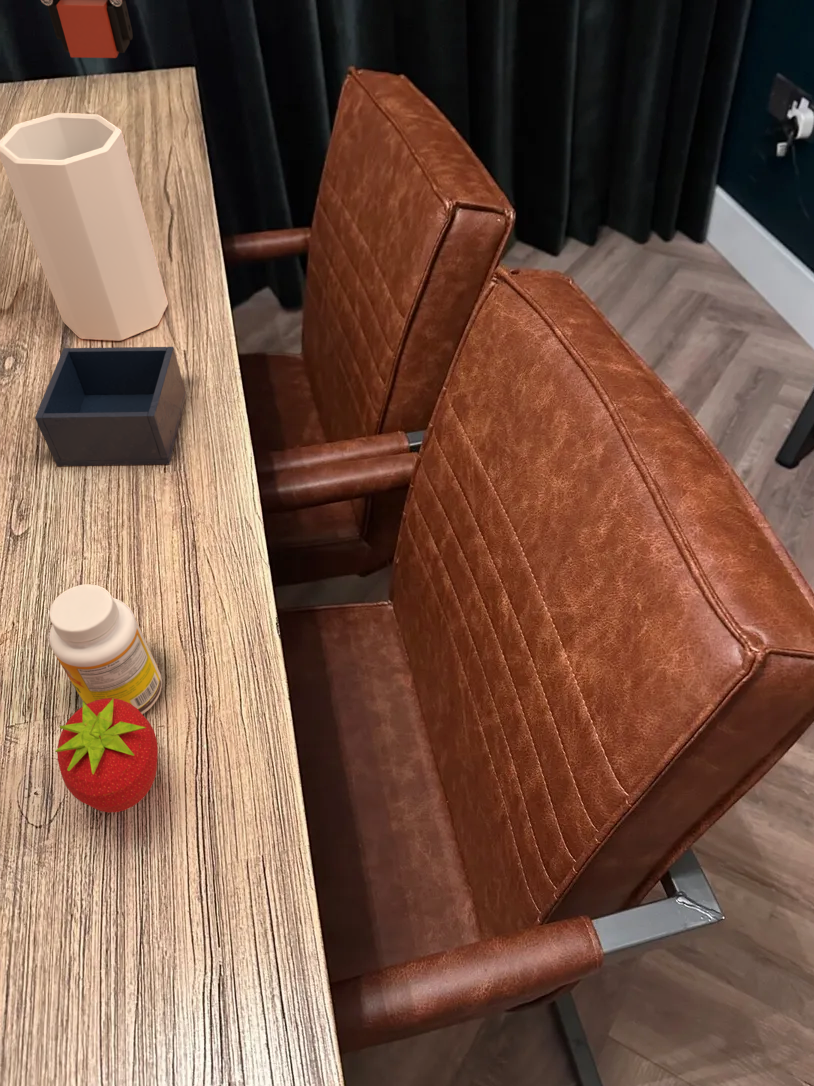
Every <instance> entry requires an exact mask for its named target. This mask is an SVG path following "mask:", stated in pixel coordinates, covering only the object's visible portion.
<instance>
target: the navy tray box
mask: <svg viewBox="0 0 814 1086" xmlns="http://www.w3.org/2000/svg"><path fill="white" fill-rule="evenodd" d="M60 353H61V354H60V356H59V358H58V361H57V363H56V366H55V368H54V370H53V373H52V375H51V377H50V380H49V382H48V385H47V387H46V389H45V392H44V395H43V396H42V399H41V402H40V404H39V407H38V409H37V411H36V414H35V416H34V419H35V421H36V423H37V425H38V428H39V430H40V432H41V435H42V437H43V439H44V441H45V443H46V446H47V448H48V450H49V452H50V454H51V457H52V459H53V461H54V463H55V465H56V467H89V466H90V467H93V466H95V467H97V466H98V467H99V466H149V465H150V466H151V465H152V466H153V465H156V464H157V465H170V464H171V461H172V456H173V453H174V452H173V451H174V447H175V444H176V439H177V435H178V431H179V428H180V424H181V420H182V416H183V411H184V407H185V404H186V399H187V391H186V387H185V384H184V380H183V376H182V373H181V369H180V365H179V362H178V359H177V355H176V351H175V348H174V346H131V347H130V346H124V347H123V346H122V347H121V346H118V347H117V346H116V347H115V346H114V347H63V349H62V351H61V352H60ZM157 465H156V466H157Z"/></svg>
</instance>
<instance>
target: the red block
mask: <svg viewBox="0 0 814 1086" xmlns="http://www.w3.org/2000/svg"><path fill="white" fill-rule="evenodd" d="M108 5H109V1H108V0H60V1H59V2H58V4H57V5H56V6H57V10H58V13H59V17H60V20H61V24H62V28H63V31H64V35H65V38H66V42H67V46H68V49H69V52H68V53H69V56H70V58H82V59H83V58H84V59H85V58H88V59H89V58H91V59H92V58H93V59H116V58H118V56H119V54H120V52H118V51H117V50H116V46H115V41H114V37H113V33H112V29H111V25H110V21H109V16H108V12H107V7H108Z"/></svg>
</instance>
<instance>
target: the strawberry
mask: <svg viewBox="0 0 814 1086" xmlns="http://www.w3.org/2000/svg"><path fill="white" fill-rule="evenodd" d="M59 729H62V730H61V733H60V736H59V738H58V741H57V742H58V743H57V748H56V749H55V750H54V752H55V753H57V754H56V755H57V763H58V768H59V771H60V775H61V778H62V781H63V783H64V785H65V787H66V788H67V790H68V791H69V793H71V795H72V796H73V797H74V798H75V799H76V800H78V801H79V802H80V803H83V804H85V805H87V806H89V807H91V808H93V809H95V810H97V811H99V812H103V813H119V812H123V811H127V810H129V809H131V808H133V807H134V806H136V805H138V804H139V803H140V802H141V801H142V800H143V799H144V798H145V797H146V796H147V794H148V793H149V791H150V790H151V788H152V787H153V785H154V782H155V779H156V775H157V771H158V752H159V751H158V750H159V747H158V741H157V736H156V732H155V730H154V728H153V726H152V724H151V723H150V721H149V719H147V718H146V716H145V715H144V713H143V714H142V713H141V712H140V711H139V710H138V709H137V708H136V707H134V706H133V705H131V704H130V703H128V702H126V701H123V700H120V699H115V698H104V699H99V700H95V701H93V702H90V703H88V704H85V703H84V702H83V701H82V706H81V707H80V708H79V709H78V710H76V711H75V712H74V713H73V714H72V715H71V716H70V718H69V719H68V720H67V721H66V723H65V725H64V724H63V725H59Z"/></svg>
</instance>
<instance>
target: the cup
mask: <svg viewBox="0 0 814 1086" xmlns="http://www.w3.org/2000/svg"><path fill="white" fill-rule="evenodd" d="M125 143H126V142H125V139H124V135H123V132H122V130H121V129H120V128H119V127H118V126H116V124H115V125H114V124H113V123H112V122H110V121H109V120H107V119H106V118H105V117H103V116H101V115H100V114H97V113H78V112H77V113H73V112H54V113H50V114H47V115H43V116H39V117H35V118H32V119H28V120H26V121H22V122H18V123H15V124H14V125H13V126H12V127H11V128H10V129H9V130H8V131H7V132H6V133H5V134H4V136H2V138H1V139H0V161H1V164H2V167H3V169H4V171H5V174H6V177H7V179H8V182H9V185H10V187H11V190H12V192H13V196H14V198H15V200H16V203H17V206H18V209H19V211H20V213H21V216H22V219H23V221H24V223H25V226H26V230H27V231H28V235H29V237H30V240H31V242H32V245H33V248H34V250H35V253H36V256H37V259H38V260H39V264H40V266H41V268H42V272H43V274H44V277H45V278H46V281H47V283H48V287H49V290H50V293H51V295H52V297H53V300H54V303H55V306H56V307H57V310H58V313H59V316H60V319H61V321H62V323H63V324H64V325H65V326H66V327H68V329H69V330H71V331H72V332H73V333H74V335H76V336H77V337H78V338H79V339H82V340H96V341H98V340H100V341H117V342H118V341H119V342H122V341H124V340H127V339H129V338H132V337H133V336H136V335H138V334H141V333H144V332H146V331H148V330H150V329H153V328H155V327H157V326H158V325H159V323H160V322H161V320H162V318H163V316H164V313H165V312H166V310H167V308H168V305H169V302H168V298H167V294H166V291H165V290H166V289H165V286H164V283H163V279H162V275H161V271H160V268H159V264H158V261H157V257H156V253H155V250H154V246H153V241H152V239H151V233H150V231H149V227H148V224H147V220H146V216H145V214H144V209H143V205H142V202H141V197H140V194H139V190H138V187H137V183H136V179H135V176H134V172H133V168H132V165H131V161H130V157H129V154H128V149H127V146H126V144H125Z"/></svg>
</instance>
